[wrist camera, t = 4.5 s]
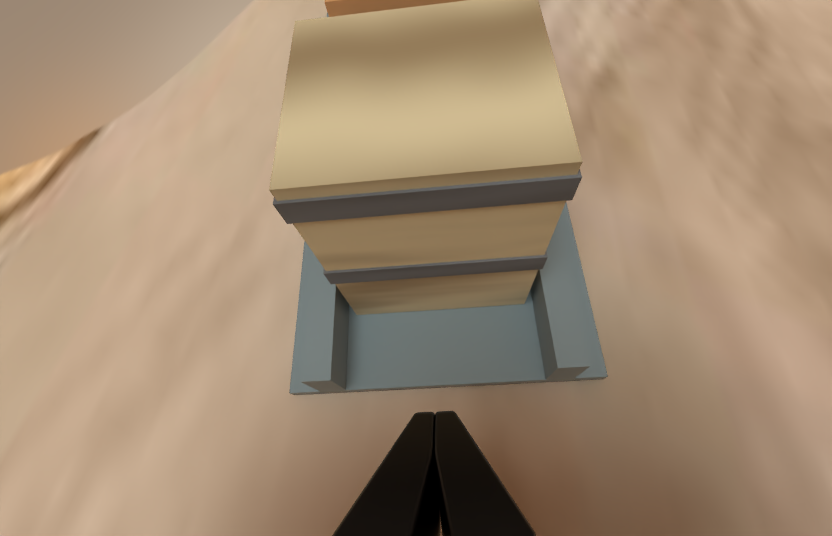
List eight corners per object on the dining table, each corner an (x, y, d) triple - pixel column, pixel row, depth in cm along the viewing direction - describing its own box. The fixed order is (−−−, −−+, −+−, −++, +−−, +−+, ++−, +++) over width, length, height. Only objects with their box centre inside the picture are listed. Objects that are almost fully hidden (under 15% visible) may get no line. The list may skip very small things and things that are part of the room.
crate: (526, 305, 19) (587, 164, 10) (354, 317, 19) (264, 193, 11) (506, 181, 22) (538, -11, 13) (358, 194, 23) (292, 19, 14)
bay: (621, 377, 18) (775, 298, 9) (294, 395, 19) (154, 338, 10) (522, -14, 30) (547, -202, 22) (330, 9, 31) (282, -161, 23)
